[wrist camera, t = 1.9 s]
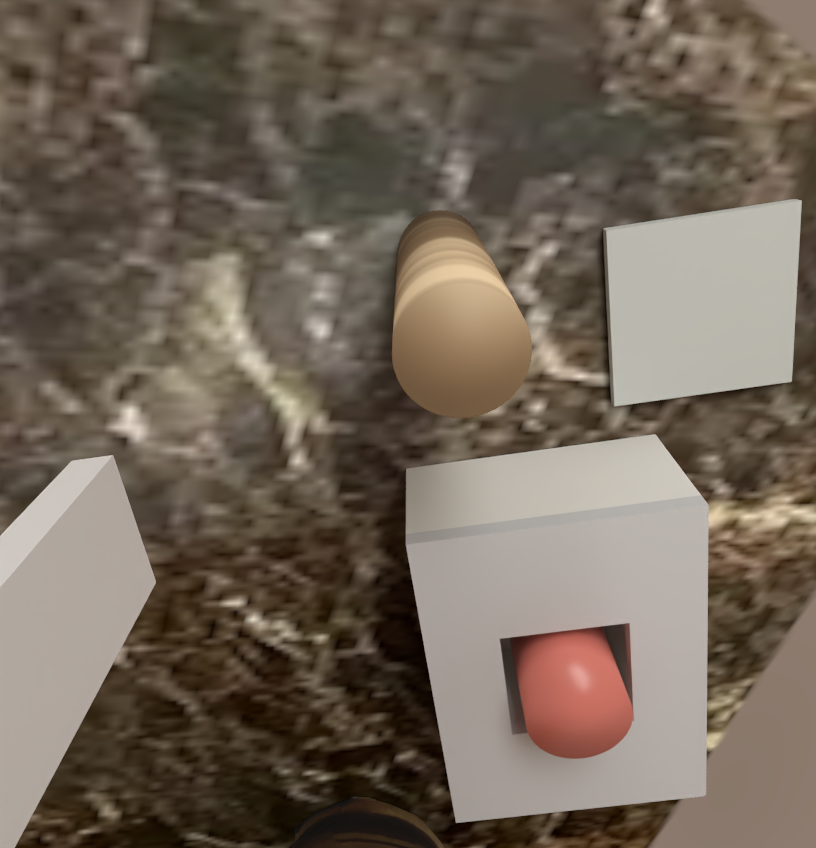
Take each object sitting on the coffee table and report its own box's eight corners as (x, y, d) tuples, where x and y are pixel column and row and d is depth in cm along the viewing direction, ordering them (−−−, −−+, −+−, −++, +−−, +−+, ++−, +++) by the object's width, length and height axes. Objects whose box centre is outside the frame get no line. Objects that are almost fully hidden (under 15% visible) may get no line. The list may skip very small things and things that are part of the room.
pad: (602, 228, 32) (606, 230, 31) (794, 199, 31) (801, 200, 30) (611, 401, 35) (614, 406, 34) (785, 377, 34) (791, 381, 34)
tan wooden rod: (391, 217, 31) (381, 295, 18) (476, 204, 31) (525, 273, 18) (404, 300, 33) (403, 426, 20) (485, 288, 33) (537, 407, 20)
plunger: (505, 606, 34) (521, 684, 30) (601, 595, 34) (631, 671, 30) (515, 680, 36) (530, 764, 31) (605, 669, 36) (634, 752, 31)
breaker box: (406, 468, 36) (405, 544, 30) (655, 434, 35) (708, 505, 29) (448, 716, 42) (455, 822, 36) (661, 692, 42) (706, 796, 35)
